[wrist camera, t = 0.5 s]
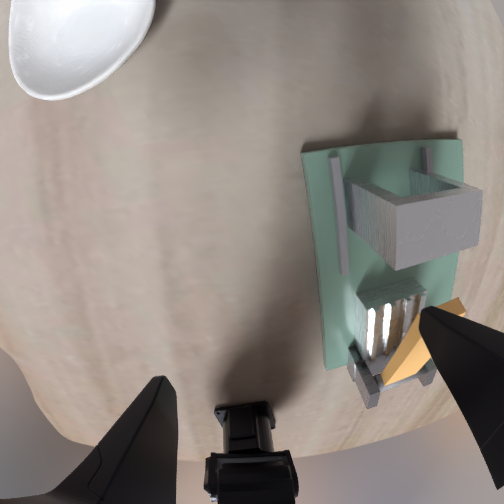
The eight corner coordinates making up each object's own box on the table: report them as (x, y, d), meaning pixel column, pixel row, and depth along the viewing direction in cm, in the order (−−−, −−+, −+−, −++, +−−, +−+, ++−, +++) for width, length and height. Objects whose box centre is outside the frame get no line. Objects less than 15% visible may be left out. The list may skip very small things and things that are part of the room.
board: (439, 324, 27) (446, 332, 26) (323, 363, 27) (328, 375, 26) (454, 138, 19) (467, 140, 17) (300, 152, 19) (306, 154, 17)
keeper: (420, 211, 20) (477, 244, 14) (347, 226, 20) (395, 270, 14) (419, 168, 19) (482, 190, 12) (343, 179, 19) (396, 206, 12)
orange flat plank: (409, 364, 23) (415, 379, 22) (371, 379, 23) (376, 395, 22) (460, 291, 15) (472, 313, 13) (410, 311, 15) (422, 336, 13)
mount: (406, 347, 27) (431, 384, 21) (347, 368, 27) (365, 411, 21) (411, 326, 25) (439, 364, 20) (347, 347, 25) (369, 393, 20)
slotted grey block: (406, 326, 25) (419, 344, 22) (354, 343, 25) (365, 364, 22) (412, 276, 23) (430, 293, 20) (355, 293, 23) (369, 313, 20)
